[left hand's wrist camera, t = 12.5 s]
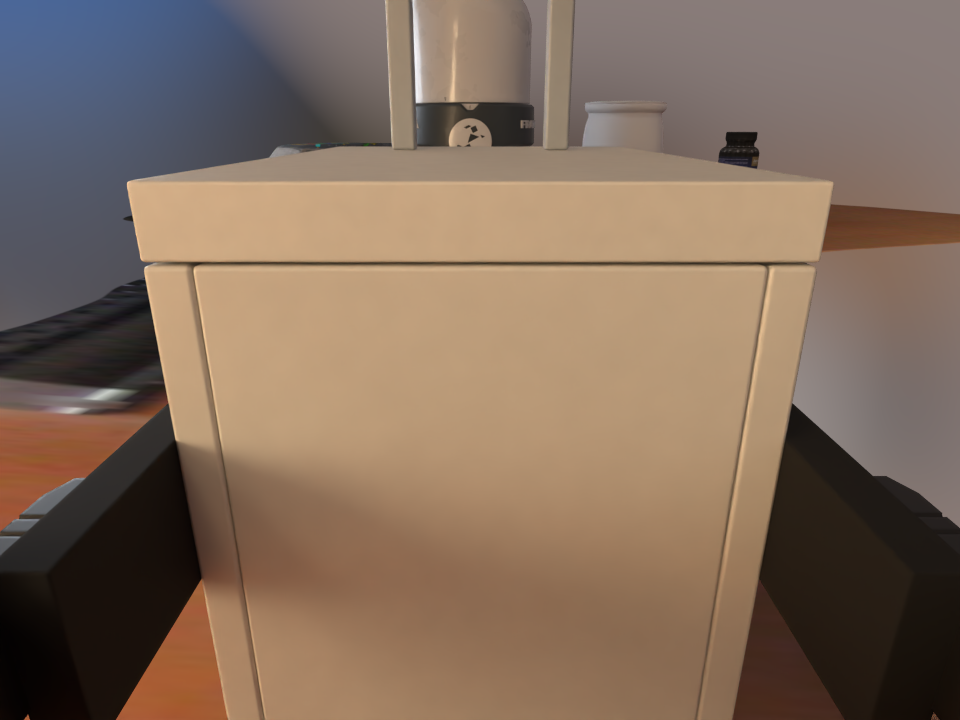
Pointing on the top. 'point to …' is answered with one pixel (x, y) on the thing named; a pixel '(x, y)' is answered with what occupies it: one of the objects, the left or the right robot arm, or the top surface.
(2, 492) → the top surface
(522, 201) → the lid
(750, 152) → the pill bottle
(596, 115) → the jar
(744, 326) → the chest
